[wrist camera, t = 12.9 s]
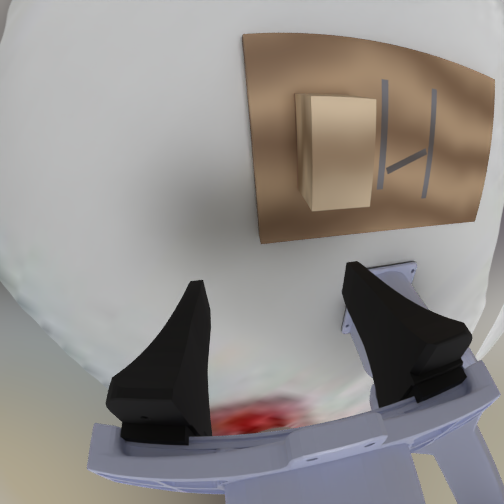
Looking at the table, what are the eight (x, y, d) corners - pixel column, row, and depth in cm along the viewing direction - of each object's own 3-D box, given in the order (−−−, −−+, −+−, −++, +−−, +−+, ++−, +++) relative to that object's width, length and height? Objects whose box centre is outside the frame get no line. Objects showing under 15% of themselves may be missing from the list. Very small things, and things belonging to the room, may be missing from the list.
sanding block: (347, 184, 20) (369, 206, 17) (297, 187, 20) (312, 211, 17) (349, 94, 16) (376, 99, 13) (293, 93, 16) (310, 96, 13)
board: (468, 216, 24) (474, 221, 23) (259, 236, 24) (260, 244, 23) (486, 77, 15) (494, 79, 14) (242, 37, 15) (242, 34, 14)
